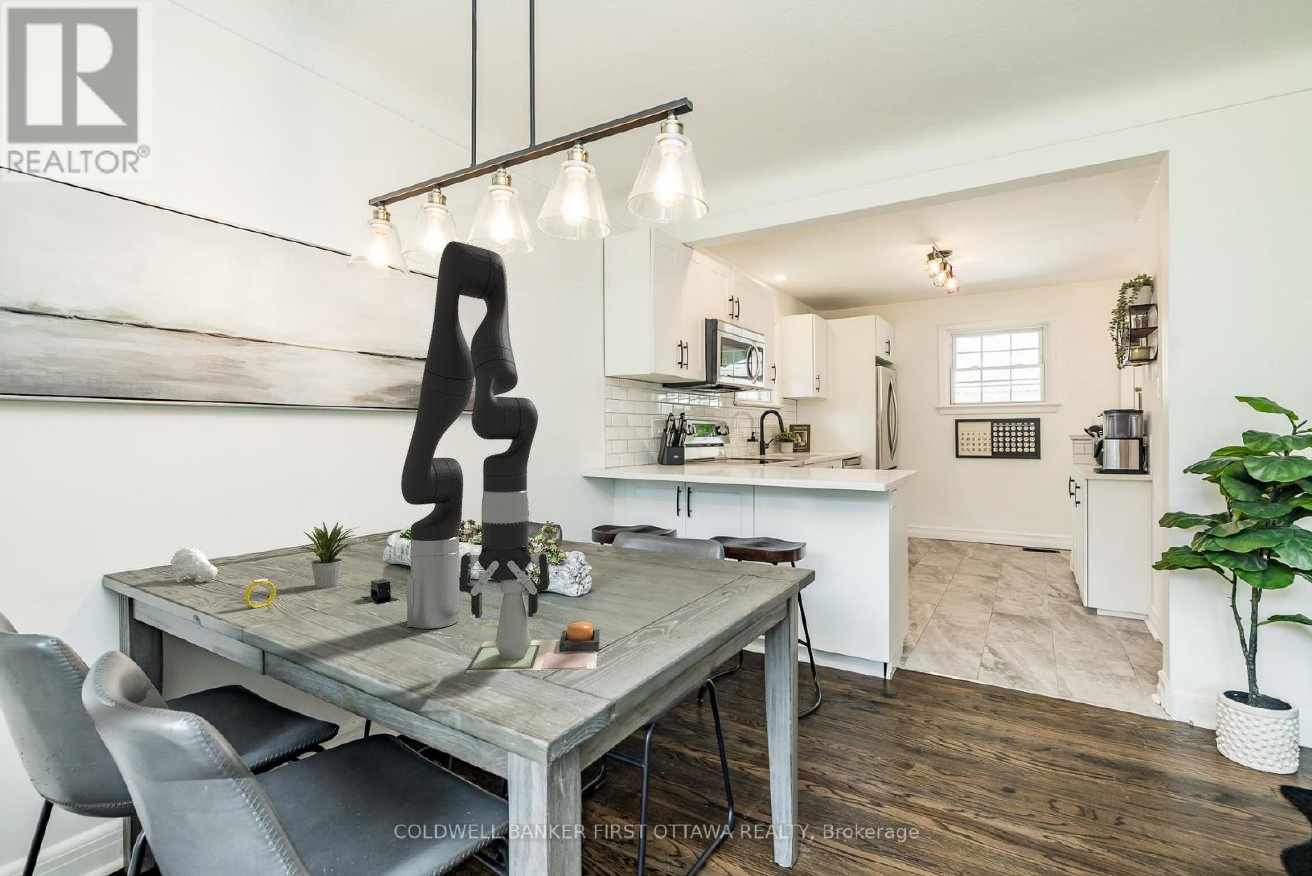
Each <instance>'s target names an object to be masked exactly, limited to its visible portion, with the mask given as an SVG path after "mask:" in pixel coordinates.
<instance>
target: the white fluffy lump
mask: <svg viewBox="0 0 1312 876" xmlns="http://www.w3.org/2000/svg"><path fill="white" fill-rule="evenodd" d="M170 565H171V570H172V571H173V572H174V575H175V578H176V582H177V583H179V584H180V583H181V582H182V581H184V579H185V577H187V576H188V577H189V578H190V579H197V580H199V581H200V583H203V582H206V583H211V582H212V581H213V580H214V579H215V577H216V576H217V574H218V568H217V567H216V566H215V565H213V564H212V563H210V561H209V560H208V559H207V557H206V555H205V554H204V553H203V552H202V551H201V550H199V549H197V548H196V547H193V546H188V547H187V546H186V547H182V548H180V549H179V550H176V551H175V553H174V555H173V556H172V559H171V560H170Z"/></svg>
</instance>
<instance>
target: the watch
mask: <svg viewBox="0 0 1312 876" xmlns="http://www.w3.org/2000/svg"><path fill="white" fill-rule="evenodd" d="M265 584H267V585H268V586H269V588H270V595H269V597H268V599H267V600H266V601H265V602H264V603H259V604H257V605H253V604H252V603H251V601H250V594H251V592H252V590H253V589H254V588H255V587H256V586H258V585H265ZM276 592H277V591H276V587H275V585H274V584H273V583H272V582H270V581H269V579H267V578H258V579H253V581H252V583H250V584H249V585H248V587H247V588H246V590H245V592H244V594H243V595H244V597H243V599H244V602H245V605H247V606H248V607H250V608H252V609H257V608H261V607H266V606H270V605H271V604H272V602H273V601H274V599H275V597H276V595H277V594H276Z"/></svg>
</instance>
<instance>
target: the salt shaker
mask: <svg viewBox="0 0 1312 876" xmlns="http://www.w3.org/2000/svg"><path fill="white" fill-rule="evenodd" d="M499 587H500V588H499V589H500V592H501V593H503V597H502V602H501V603H502V604H501V608H500V615H499V619H498V625H497V630H496V631H497V632H496V636H495V640H494V641H495V642H496V648H497V650H498V651H499V653H500V656H501V657H502V658H503V660H518V659H521V658H524V657H525V655H526V653H527V651H528V649H529V647H530V645H531V640H532V636H531V631H530V626H529V620H528V614H527V608H526V603H525V597H524V592H526V591H527V590H528V589H527V588H526V587H525V586H524V585H523V584H522V583H521V582H520V580H519V579H518V578H517V579H510V580H501V581H500V584H499Z"/></svg>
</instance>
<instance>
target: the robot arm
mask: <svg viewBox="0 0 1312 876" xmlns="http://www.w3.org/2000/svg"><path fill="white" fill-rule="evenodd" d="M436 284H437V285H436V293H435V294H436V295H435V304H434V313H433V323H432V327H431V329H432V330H431V334H430V339H429V344H428V350H427V354H426V359H425V363H424V369H423V373H422V380H421V385H420V393H419V401H418V406H417V412H416V418H415V422H414V427H413V431H412V434H411V435H412V436H411V439H410V442H409V446H408V449H407V453H406V457H405V460H404V464H403V468H402V472H401V478H400V479H401V480H400V481H401V482H400V483H401V487H400V488H401V494H402V497H403V499H404V501H405V502H406V503H407V504H409V505H412V506H413V505H414V506H417V505H418V506H419V505H420V506H421V505H433V504H434V507H433V509H432V510H431V512H430V513H429V514H427V515H426V516H425V517H422V518H421V519H419V520H417V521H415V522H413V523H412V524H411V525H410V576H408V577H407V579H406V626H407V627H408V628H409V627H410V628H411V627H412V628H416V629H426V630H428V629H438V628H443V627H448V626H452V625H454V624H457V623H458V622H459V620H460V592H462V593H467V594H469V595H470V597H471V599H470V603H471V605H470V608H471V609H470V610H471V611H470V612H471V615H474V616H475V619H480V618H481V617H482V615H483V592H482V590H483V588H484V587H485V585H486V584H487V583H488V582H489V580H493V581H495V582H501V580H510V579H517V578H518V579H519V580H520V582H521V583H522V584H523V585H524V586H525V587H526V588H527V589H526V590H528V595H527V597H528V598H527V599H528V601H527V603H528V604H527V605H528V606H527V607H528V610H527V612H528V614H527V618H533V617H535V614H537V612H538V609H539V593H541V592H542V591H543V592H545V591H547V590H548V589H549V586H550V582H551V581H550V568H549V566H550V565H549V554H548V552H547V551H545V550H544V551H542V552H539V553H531V552H530V547H529V516H530V510H529V496H528V464H529V463H528V462H529V458H530V454H531V451H532V450H531V449H532V444H533V441H534V438H535V434H536V431H537V428H538V421H539V414H538V409H537V407H536V405H535V404H534V402H533V401H532V400H531V399H529V398H526V397H518V396H517V397H516V396H515V397H509V396H498V395H503V394H506V393H509V392H511V391H512V390H514V389H515V388H516V387H517V385H518V381H519V376H518V375H519V374H518V371H517V366H516V362H515V357H514V353H513V348H512V347H513V346H512V342H511V335H510V325H509V324H510V323H509V322H510V321H509V320H510V319H509V318H510V317H509V299H508V297H509V296H508V294H509V293H508V277H507V270H506V266H505V262H504V259H503V256H501V255H500V254H499V253H498V252H495V251H494V250H490V249H486V248H483V247H479V246H476V245H471V244H468V243H465V242H461V241H455V240H452V241H450V242H448V243H447V244H446V245H445V247H444V248H443V250H442V253H441V258H440V261H439V268H438V274H437V282H436ZM460 296H463V297H469V298H473V299H477V300H483V301H484V303H485V305H486V306H485V307H486V313H485V315H484V318H483V319H482V320H481V322H480V323H479V326H478V327H477V328H476V330H475V333H474V334H473V337H472V339H471V345H470V347H469V344H468V342H467V340H466V337H465V336H464V333H463V329H462V326H461V324H460V323H461V322H460V318H459V317H460V316H459V315H460V314H459V301H460ZM474 381H475V382H474ZM474 383H475V391H474V402H473V407H472V412H471V427H472V429H473V431H474V432H475V434H476V435H477V436H478V437H480V438H481V439H483V440H488V441H489V440H490V441H492V440H494V441H495V440H496V441H498V440H503V441H505V440H511V442H510V445H509V446H508V448H507V449H506V451H503V452H500V453H499V452H498V453H495V454H492V455H491V454H490V455H488V456H486V457H485V458H484V460H483V465H482V474H483V475H482V479H483V480H482V485H483V486H482V488H483V489H482V500H481V550H480V553H479V554H475V553H474V554H473V553H472V552H466V553H464V554H463V555H462V556H461V557H460V528H461V524H462V517H463V497H464V496H463V495H464V475H463V470H462V466H461V465H460V463H459V461H458V460H457V459H455V458H453V457H434V456H435V454H436V449H437V447H438V445H439V444H440V441H441V439H442V437H443V436H444V434H445V433H446V432H447V431H448V430H449V428H450V427H451V426H453V424H454V423H455V422H456V420H457V419H458V418H459V417H460V416H461V415H462V413H463V412H464V410H465V409H466V408H467V406H468V404H469V402H470V401H471V396H472V392H473V387H474ZM531 561H532V562H533V563H534V564H535V566H536V567H538V568H539V578H540V579H539V580H540V582H536V580H535V579H534V578H533V576H532V574H531V572H530V571H529V570H528V569H527V567H528V565H529V564H530V563H531ZM477 562H478V564H479V565H480V566H481V567H482V569H483V570H484V572H483V574H482V575H481V576H480V578H479V579H478V580H477V582H476V583H475V584H474V583H471V578H472V568H474V567H475V566H476V564H477Z"/></svg>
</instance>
